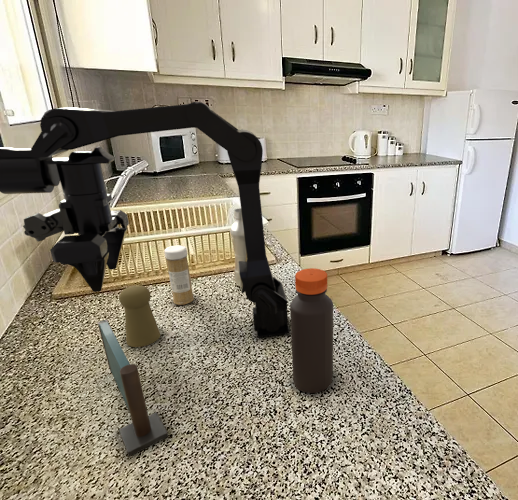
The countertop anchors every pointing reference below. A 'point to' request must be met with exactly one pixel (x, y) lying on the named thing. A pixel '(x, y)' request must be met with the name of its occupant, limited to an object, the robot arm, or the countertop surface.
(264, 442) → the countertop surface
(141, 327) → the olive brown knobbed cone
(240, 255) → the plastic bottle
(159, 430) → the hinge post
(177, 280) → the sprinkles bottle
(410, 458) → the countertop surface
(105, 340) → the door
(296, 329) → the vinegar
